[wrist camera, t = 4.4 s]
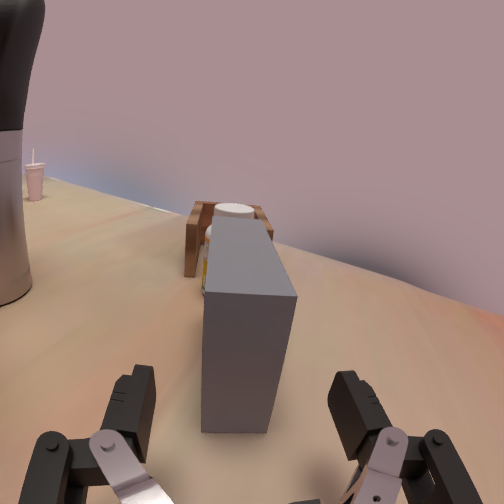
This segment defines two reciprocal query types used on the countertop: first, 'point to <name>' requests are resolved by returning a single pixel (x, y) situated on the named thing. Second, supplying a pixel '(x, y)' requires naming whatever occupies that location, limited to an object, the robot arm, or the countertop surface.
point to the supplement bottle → (224, 211)
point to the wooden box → (199, 225)
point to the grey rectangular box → (243, 327)
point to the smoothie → (34, 179)
